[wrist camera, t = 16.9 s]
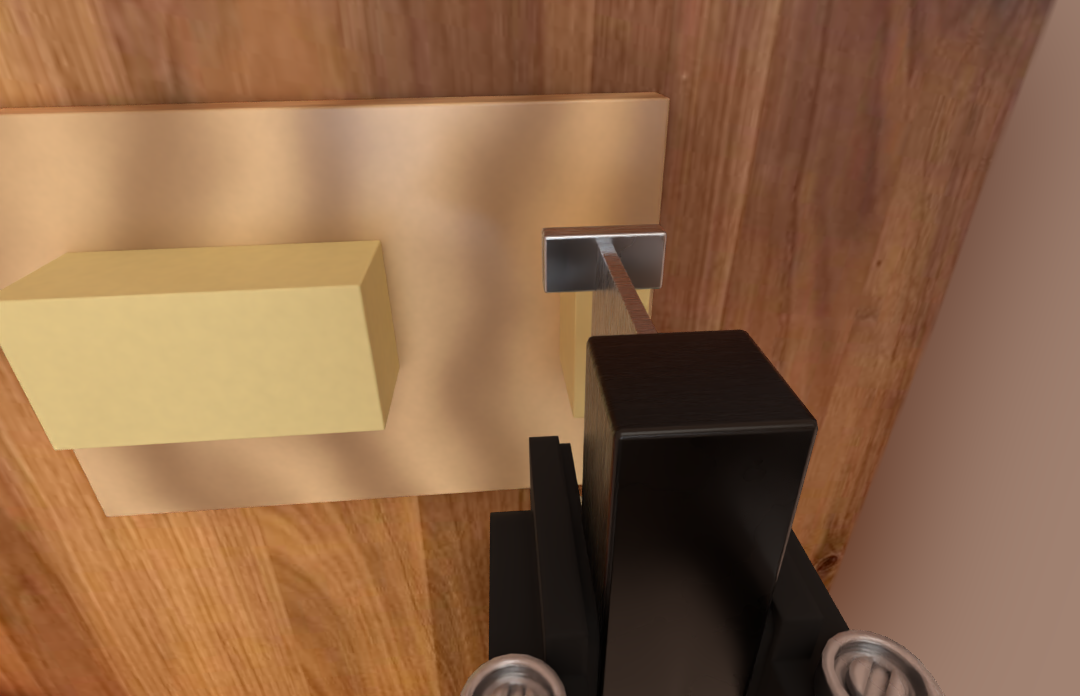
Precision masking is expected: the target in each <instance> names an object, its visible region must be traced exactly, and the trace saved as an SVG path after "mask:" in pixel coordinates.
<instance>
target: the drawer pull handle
mask: <svg viewBox="0 0 1080 696" xmlns="http://www.w3.org/2000/svg"><path fill="white" fill-rule="evenodd" d="M666 238H667V234H666V232H665V230H664V229H663V228H662V227H661V225H659V224H642V225H612V226H582V227H552V228H543V229H542V283H543V289H544V292H545V293H560V292H585V291H593V294H592V324H591V337H589V339H588V341H587V343H586V376H585V411H584V445H583V480H582V497H580V500H581V506H582V514H581V519H582V525H583V531H584V537H585V542H586V548H587V554H588V560H589V566H590V572H591V577H592V583H593V589H594V595H595V601H596V607H597V613H598V621H599V633H600V650H599V667H598V685H597V696H746V694H747V690H748V687H749V683H750V679H751V676H752V672H753V668H754V665H755V661H756V657H757V653H758V650H759V646H760V642H761V639H762V635H763V631H764V627H765V624H766V620H767V616H768V613H769V609H770V605H771V601H772V598H773V594H774V590H775V587H776V583H777V579H778V576H779V572H780V568H781V564H782V561H783V557H784V553H785V550H786V546H787V542H788V538H789V535H790V531H791V527H792V524H793V520H794V516H795V512H796V509H797V505H798V501H799V498H800V494H801V490H802V487H803V483H804V479H805V475H806V472H807V468H808V464H809V461H810V457H811V453H812V449H813V446H814V442H815V438H816V435H817V431H818V426H817V421H816V419H815V418H814V417H813V416H812V414H811V413H810V412H809V410H808V409H807V408H806V407H805V405H804V404H803V403H802V402H801V400H800V399H799V398H798V396H797V395H796V394H795V393H794V391H793V390H792V389H791V388H790V386H789V385H788V384H787V383H786V381H785V380H784V379H783V377H782V376H781V375H780V374H779V372H778V371H777V370H776V369H775V367H774V366H773V365H772V363H771V362H770V361H769V360H768V358H767V357H766V356H765V355H764V353H763V352H762V351H761V349H760V348H759V347H758V346H757V344H756V343H755V342H754V341H753V339H752V338H751V337H750V336H749V334H748V333H747V332H746V331H743V330H718V331H695V332H672V333H657V331H656V329H655V327H654V325H653V323H652V321H651V319H650V317H649V315H648V313H647V311H646V309H645V308H644V306H643V304H642V302H641V300H640V298H639V296H638V294H637V292H636V289H659V288H661V286H662V280H663V269H664V259H665V248H666Z"/></svg>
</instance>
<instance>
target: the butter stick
mask: <svg viewBox="0 0 1080 696" xmlns="http://www.w3.org/2000/svg"><path fill="white" fill-rule="evenodd" d="M0 346H1V348H2V350H3V352H4V354H5V356H6V358H7V359H8V361H9V363H10V365H11V367H12V369H13V371H14V373H15V375H16V377H17V379H18V381H19V383H20V385H21V386H22V388H23V390H24V392H25V394H26V396H27V398H28V400H29V402H30V404H31V406H32V408H33V410H34V412H35V413H36V415H37V417H38V419H39V421H40V423H41V425H42V427H43V429H44V431H45V433H46V435H47V437H48V439H49V440H50V442H51V444H52V446H53V448H54V449H55V450H68V449H85V448H101V447H117V446H134V445H150V444H166V443H183V442H199V441H215V440H232V439H248V438H264V437H280V436H297V435H313V434H329V433H346V432H362V431H378V430H384V429H385V427H386V423H387V419H388V414H389V410H390V406H391V402H392V398H393V393H394V389H395V385H396V381H397V376H398V372H399V368H400V367H399V360H398V353H397V347H396V340H395V333H394V326H393V320H392V313H391V306H390V300H389V293H388V286H387V280H386V273H385V266H384V260H383V253H382V246H381V242H380V241H379V240H372V241H347V242H322V243H297V244H272V245H247V246H222V247H198V248H173V249H148V250H123V251H98V252H73V253H65V254H63V255H62V256H60V257H58V258H56V259H55V260H53V261H51V262H49V263H48V264H46V265H44V266H42V267H41V268H39V269H37V270H35V271H33V272H32V273H30V274H28V275H26V276H25V277H23V278H21V279H19V280H18V281H16V282H14V283H12V284H10V285H9V286H7V287H5V288H3V289H2V290H0Z"/></svg>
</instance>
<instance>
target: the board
mask: <svg viewBox="0 0 1080 696" xmlns="http://www.w3.org/2000/svg"><path fill="white" fill-rule="evenodd" d="M669 104H670V100H669V98H668V97H665V96H663V95H661V94H658V93H656V92H634V93H594V94H553V95H512V96H472V97H431V98H390V99H349V100H309V101H268V102H227V103H187V104H146V105H105V106H64V107H24V108H0V290H2V289H3V288H5V287H7V286H9V285H10V284H12V283H14V282H16V281H18V280H19V279H21V278H23V277H25V276H26V275H28V274H30V273H32V272H33V271H35V270H37V269H39V268H41V267H42V266H44V265H46V264H48V263H49V262H51V261H53V260H55V259H56V258H58V257H60V256H62V255H63V254H65V253H73V252H98V251H123V250H148V249H173V248H198V247H222V246H247V245H272V244H297V243H322V242H347V241H372V240H379V241H380V242H381V246H382V253H383V260H384V266H385V273H386V280H387V286H388V293H389V300H390V306H391V313H392V320H393V326H394V333H395V340H396V347H397V353H398V360H399V367H400V368H399V372H398V376H397V381H396V385H395V389H394V393H393V398H392V402H391V406H390V410H389V414H388V419H387V423H386V427H385V429H384V430H378V431H362V432H346V433H329V434H313V435H297V436H280V437H264V438H248V439H232V440H215V441H199V442H183V443H166V444H150V445H134V446H117V447H101V448H85V449H73V451H74V453H75V455H76V457H77V459H78V461H79V463H80V465H81V467H82V469H83V471H84V473H85V475H86V477H87V479H88V481H89V483H90V485H91V487H92V489H93V491H94V493H95V495H96V497H97V499H98V501H99V503H100V505H101V507H102V509H103V511H104V513H105V515H106V516H107V517H117V516H131V515H146V514H160V513H175V512H189V511H204V510H218V509H233V508H247V507H262V506H276V505H291V504H305V503H320V502H334V501H349V500H363V499H378V498H393V497H407V496H422V495H436V494H451V493H465V492H480V491H494V490H509V489H523V488H530V463H529V437H542V436H558V437H559V442H560V443H570V444H571V449H572V455H573V460H574V466H575V472H576V477H577V483H578V485H581V484H582V480H583V445H584V418H574V417H573V415H572V410H571V406H570V402H569V397H568V393H567V388H566V384H565V380H564V375H563V371H562V366H561V362H560V293H545V292H544V289H543V283H542V229H543V228H552V227H582V226H612V225H642V224H659V221H660V209H661V197H662V186H663V174H664V162H665V151H666V139H667V128H668V116H669ZM653 291H654V289H650V300H649V312H648V315H649V317H650V319H651V314H652V302H653Z"/></svg>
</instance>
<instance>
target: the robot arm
mask: <svg viewBox="0 0 1080 696" xmlns="http://www.w3.org/2000/svg"><path fill="white" fill-rule="evenodd" d="M529 463H530V499H531V510H528V511H510V512H493V513H491V514H490V591H489V661H487V662H486V663H484V664H482V665H481V666H480V667H479V668H478V669H477V670H476V671H475V672H474V673H473V674H472V675H471V676H470V677H469V678H468V680H467V682H466V684H465V686H464V688H463V690H462V691H461V695H460V696H597V685H598V667H599V650H600V633H599V621H598V613H597V607H596V601H595V595H594V589H593V583H592V577H591V572H590V566H589V560H588V554H587V548H586V542H585V537H584V531H583V525H582V519H581V514H582V506H581V500H580V495H579V489H578V483H577V477H576V472H575V466H574V460H573V455H572V449H571V444H570V443H560V442H559V437H558V436H542V437H529ZM746 696H945V695H944V693H943V692H942V690H941V688H940V687H939V685H938V684H937V682H936V681H935V679H934V678H933V676H932V675H931V673H930V672H929V671H928V670H927V669H926V667H925V666H924V665H923V664H922V662H921V661H920V660H919V659H918V658H917V657H916V656H914V655H913V654H912V653H911V652H910V651H908V650H907V649H906V648H905V647H904V646H902V645H900V644H898V643H897V642H895V641H893V640H891V639H889V638H888V637H886V636H882V635H879V634H876V633H873V632H870V631H861V630H849V628H848V626H847V624H846V623H845V621H844V619H843V617H842V616H841V614H840V612H839V610H838V609H837V607H836V605H835V603H834V602H833V600H832V598H831V596H830V595H829V593H828V591H827V589H826V588H825V586H824V584H823V582H822V581H821V579H820V577H819V575H818V574H817V572H816V570H815V568H814V567H813V565H812V563H811V561H810V560H809V558H808V556H807V554H806V553H805V551H804V549H803V547H802V546H801V544H800V542H799V540H798V539H797V537H796V535H795V534H794V532H793V530H792V528H791V531H790V535H789V538H788V542H787V546H786V550H785V553H784V557H783V561H782V564H781V568H780V572H779V576H778V579H777V583H776V587H775V590H774V594H773V598H772V601H771V605H770V609H769V613H768V616H767V620H766V624H765V627H764V631H763V635H762V639H761V642H760V646H759V650H758V653H757V657H756V661H755V665H754V668H753V672H752V676H751V679H750V683H749V687H748V690H747V694H746Z"/></svg>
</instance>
